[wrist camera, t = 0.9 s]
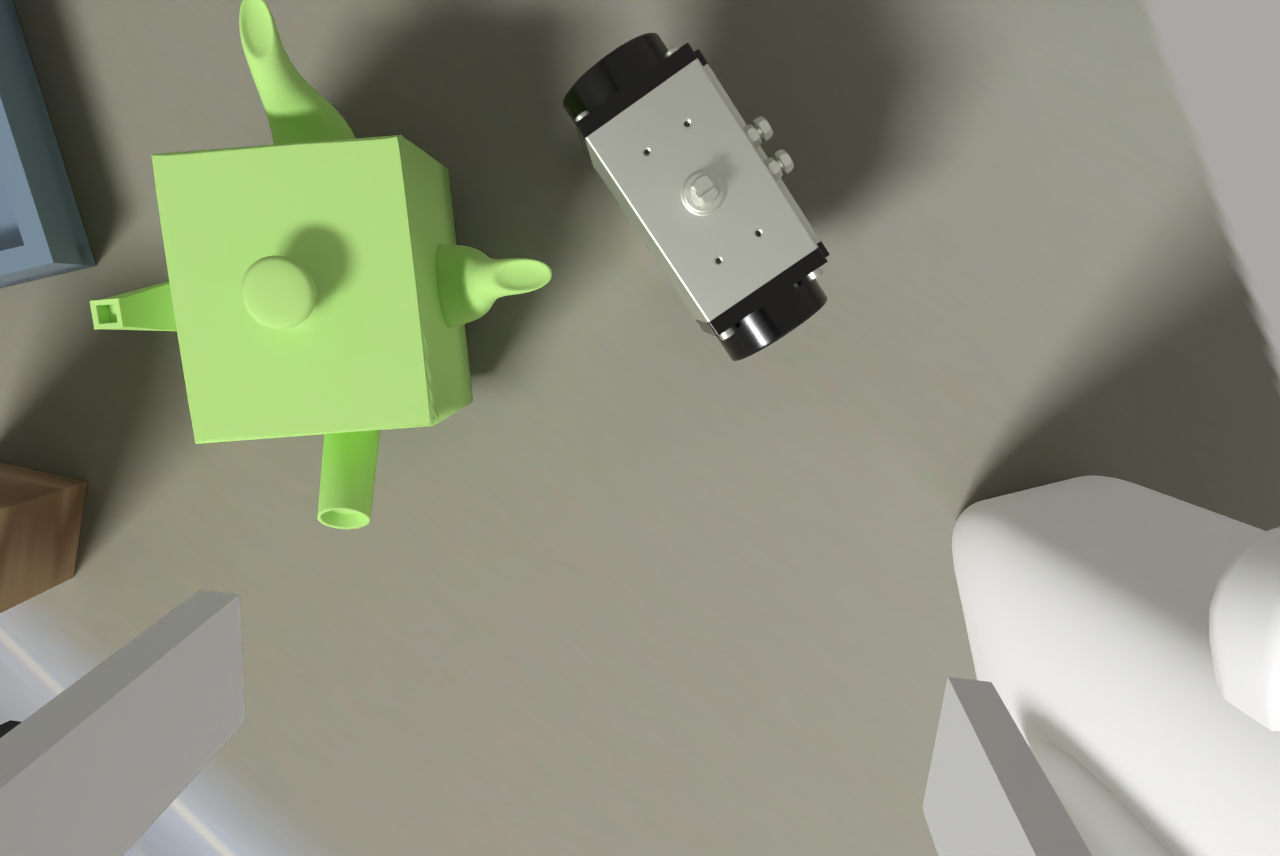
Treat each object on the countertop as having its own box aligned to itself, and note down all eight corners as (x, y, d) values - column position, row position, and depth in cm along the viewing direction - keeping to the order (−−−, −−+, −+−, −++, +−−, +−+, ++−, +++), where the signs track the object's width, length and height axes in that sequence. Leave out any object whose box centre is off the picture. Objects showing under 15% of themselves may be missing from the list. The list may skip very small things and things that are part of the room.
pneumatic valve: (711, 352, 41) (743, 373, 30) (572, 144, 40) (547, 78, 28) (808, 287, 41) (879, 280, 29) (671, 74, 40) (687, -23, 28)
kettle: (344, 65, 39) (232, -27, 28) (587, 262, 41) (571, 247, 30) (159, 322, 41) (-15, 330, 30) (399, 502, 42) (318, 574, 31)
